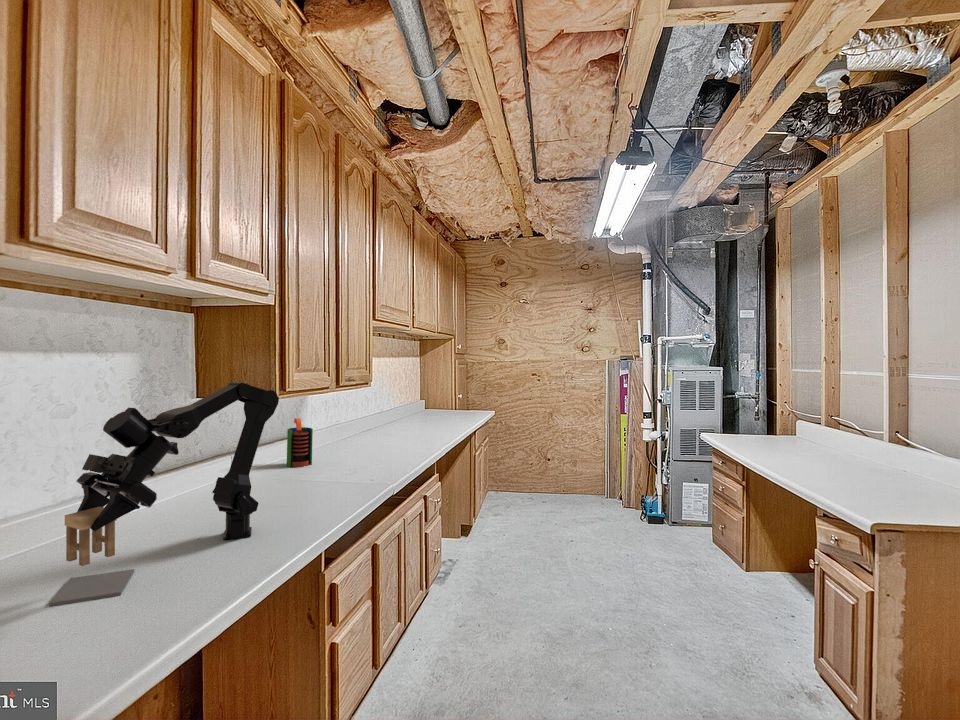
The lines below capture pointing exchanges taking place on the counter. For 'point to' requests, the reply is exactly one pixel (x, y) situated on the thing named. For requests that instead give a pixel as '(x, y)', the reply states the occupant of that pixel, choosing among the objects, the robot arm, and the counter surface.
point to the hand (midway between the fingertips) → (83, 527)
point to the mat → (93, 587)
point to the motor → (299, 445)
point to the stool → (87, 536)
